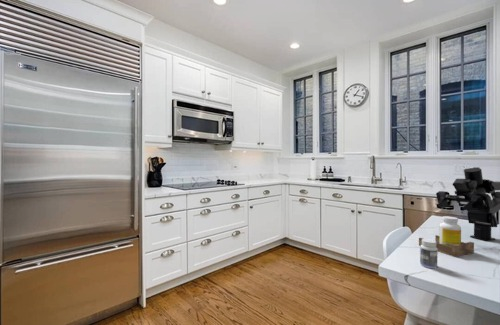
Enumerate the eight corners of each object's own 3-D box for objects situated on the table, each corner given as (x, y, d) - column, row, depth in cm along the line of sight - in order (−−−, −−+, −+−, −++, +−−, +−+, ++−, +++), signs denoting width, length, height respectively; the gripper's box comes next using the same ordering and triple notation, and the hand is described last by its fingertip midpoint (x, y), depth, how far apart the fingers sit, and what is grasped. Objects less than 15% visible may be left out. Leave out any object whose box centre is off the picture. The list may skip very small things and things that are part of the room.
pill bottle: (416, 263, 87) (416, 238, 87) (429, 262, 88) (429, 238, 88) (427, 269, 83) (427, 243, 82) (441, 268, 83) (441, 242, 83)
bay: (435, 241, 110) (435, 232, 110) (473, 253, 96) (474, 242, 96) (417, 244, 106) (417, 235, 106) (454, 256, 93) (454, 245, 93)
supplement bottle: (465, 254, 95) (465, 220, 95) (444, 253, 97) (445, 219, 97) (454, 248, 102) (454, 216, 102) (435, 247, 103) (436, 215, 103)
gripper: (444, 176, 118) (422, 187, 112) (495, 176, 101) (473, 190, 95) (449, 198, 119) (428, 211, 113) (501, 203, 101) (480, 218, 96)
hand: (450, 207), depth 104 cm, fingers open, 9 cm apart
